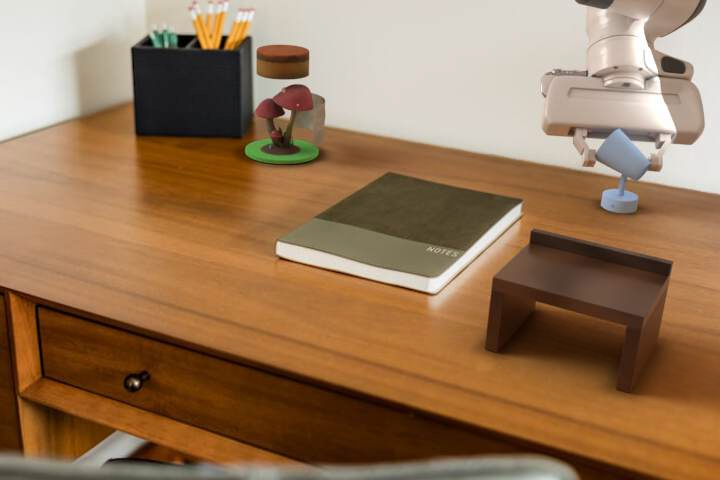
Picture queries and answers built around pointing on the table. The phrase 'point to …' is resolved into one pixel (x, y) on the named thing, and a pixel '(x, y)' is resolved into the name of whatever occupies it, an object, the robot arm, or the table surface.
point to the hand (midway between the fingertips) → (622, 167)
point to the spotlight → (621, 171)
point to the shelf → (583, 292)
